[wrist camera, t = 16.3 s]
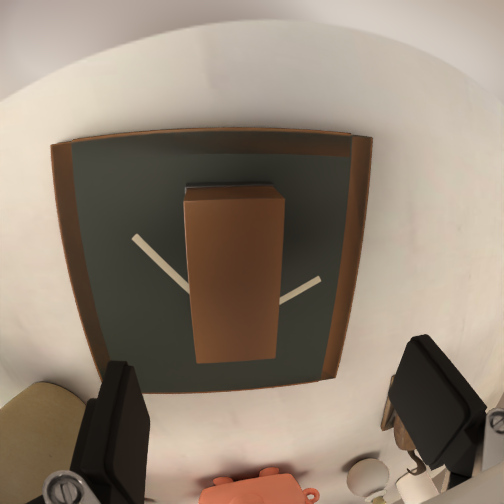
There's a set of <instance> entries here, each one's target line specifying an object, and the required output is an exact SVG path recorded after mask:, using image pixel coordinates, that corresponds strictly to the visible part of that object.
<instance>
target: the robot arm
mask: <svg viewBox="0 0 504 504" xmlns="http://www.w3.org/2000/svg"><path fill="white" fill-rule="evenodd" d="M388 397H389V400H390V402H391V404H392V406H393V407H394V409H395V411H396V413H397V414H398V416H399V418H400V420H401V422H402V423H403V425H404V427H405V429H406V431H407V432H408V434H409V436H410V438H411V440H412V441H413V443H414V445H415V447H416V449H417V451H418V452H419V454H420V456H421V458H422V460H423V462H424V463H425V464H426V465H429V467H430V469H431V471H432V470H434V469H436V468H439V467H441V466H443V465H444V464H445V466H446V468H447V469H446V473H445V477H444V481H443V485H442V489H441V493H440V494H439V495H437V496H435V497H433V498H431V499H428V500H426V501H424V502H422V503H419V504H504V409H503V408H493V409H491V410H490V411H489V412H488V413H487V414H486V412H485V410H486V409H487V406H486V405H485V404H484V402H483V401H482V400H481V399H480V397H479V396H478V395H477V393H476V392H475V391H474V390H473V388H472V387H471V386H470V384H469V383H468V382H467V381H466V379H465V378H464V377H463V376H462V374H461V373H460V372H459V371H458V370H457V368H456V367H455V366H454V365H453V363H452V362H451V361H450V360H449V359H448V357H447V356H446V355H445V354H444V353H443V351H442V350H441V349H440V348H439V347H438V346H437V344H436V343H435V342H434V341H433V340H432V339H431V337H430V336H429V335H427V334H424V335H419V336H414V337H412V338H411V340H410V341H409V342H408V343H407V345H406V348H405V351H404V354H403V356H402V359H401V362H400V364H399V367H398V369H397V372H396V374H395V377H394V379H393V382H392V384H391V387H390V389H389V392H388ZM149 432H150V417H149V414H148V411H147V408H146V405H145V402H144V399H143V395H142V392H141V389H140V386H139V382H138V379H137V376H136V372H135V369H134V366H129V364H128V362H127V361H112V360H110V361H109V362H108V364H107V368H106V371H105V374H104V377H103V381H102V384H101V388H100V391H99V395H98V398H97V399H94V398H91V399H89V401H88V402H87V405H86V408H85V412H84V415H83V419H82V422H81V426H80V429H79V433H78V437H77V440H76V444H75V448H74V452H73V456H72V460H71V465H70V469H69V470H59V471H56V472H53V473H52V474H50V475H49V476H48V477H47V478H46V479H45V481H44V483H43V486H42V495H40V496H38V497H36V498H35V499H33V500H31V501H29V502H27V503H25V504H144V494H145V478H146V465H147V453H148V442H149Z"/></svg>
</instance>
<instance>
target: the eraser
mask: <svg viewBox="0 0 504 504" xmlns="http://www.w3.org/2000/svg"><path fill="white" fill-rule="evenodd" d="M183 203H184V223H185V241H186V256H187V270H188V282H189V294H190V305H191V316H192V326H193V336H194V345H195V354H196V362H197V363H218V362H234V361H248V360H260V359H271V358H275V357H276V344H277V331H278V317H279V302H280V286H281V270H282V253H283V234H284V214H285V198H284V197H283V196H282V195H281V194H280V193H279V192H278V191H277V190H276V189H275V188H274V184H273V183H271V182H214V183H187V184H186V186H185V198H184V201H183Z"/></svg>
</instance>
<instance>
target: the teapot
mask: <svg viewBox="0 0 504 504" xmlns="http://www.w3.org/2000/svg"><path fill="white" fill-rule="evenodd" d="M278 473H279V469H278V468H276V467H270V468H265V469H263V470H261V471H260V473H259V477H258V478H252V479H247V480H241V481H236V482H233V480H232V479H231V478H229V477H218V478H215V479H214V480H213V483H214V484H215V485H216V486H213V487H209V488H206V489H203V490H202V492H201V495H200V498H199V504H314V503H315V502H317V501H318V499H319V497H320V494H319V492H318V491H317V490H316V489H314V488H307V489H304V490H303V491H302V489H301V487H300V485H299V484H298V483H297V481H296V480H295V479H294V477H293V476H292V475H291V474H278ZM310 494H312V495H314V498H313V499H310V500H309V499H308V497H307V495H310Z"/></svg>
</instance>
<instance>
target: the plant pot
mask: <svg viewBox="0 0 504 504" xmlns="http://www.w3.org/2000/svg"><path fill="white" fill-rule="evenodd" d="M85 408H86V405H85V404H84V403H83V402H82V401H81V400H80V399H79V398H78V397H77V396H75V395H74V394H73V393H71V392H69V391H68V390H66V389H64V388H62V387H60V386H57V385H54V384H51V383H44V382H39V383H35V384H32V385H31V386H30V387H28V388H27V389H25V390H24V391H23V392H21V393H20V394H18V395H17V396H16V397H14V398H13V399H12V400H11V401H10V402H8V403H7V404H6V405H5V406H4V407H2V408H1V409H0V504H25V503H27V502H29V501H31V500H33V499H35V498H36V497H38V496H40V495H42V486H43V483H44V481H45V479H46V478H47V477H48V476H49V475H50V474H52V473H53V472H56V471H59V470H69V469H70V465H71V460H72V456H73V452H74V448H75V444H76V440H77V437H78V433H79V429H80V426H81V422H82V419H83V415H84V412H85Z"/></svg>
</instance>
